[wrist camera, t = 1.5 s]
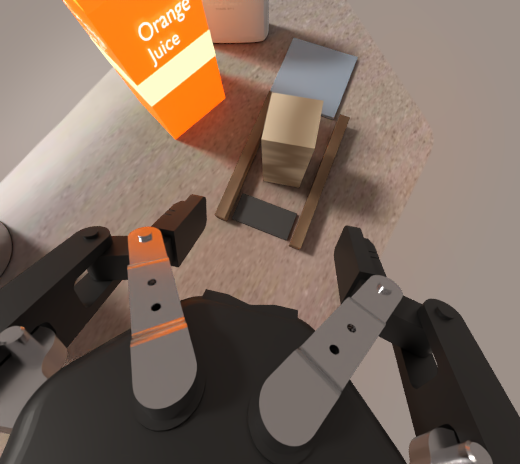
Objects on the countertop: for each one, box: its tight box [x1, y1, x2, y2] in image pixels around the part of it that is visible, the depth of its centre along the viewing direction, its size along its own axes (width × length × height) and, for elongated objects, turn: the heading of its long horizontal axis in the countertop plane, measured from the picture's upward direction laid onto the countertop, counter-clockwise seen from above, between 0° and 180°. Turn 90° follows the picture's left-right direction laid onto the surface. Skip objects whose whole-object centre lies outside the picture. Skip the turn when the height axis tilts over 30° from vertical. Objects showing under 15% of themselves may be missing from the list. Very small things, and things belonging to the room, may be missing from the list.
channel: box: [215, 91, 350, 250], centre depth 27 cm, size 10×17×2 cm, turn 158°
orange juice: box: [63, 0, 225, 140], centre depth 20 cm, size 8×9×20 cm
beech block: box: [261, 92, 324, 188], centre depth 23 cm, size 4×4×9 cm
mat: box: [270, 38, 357, 120], centre depth 29 cm, size 9×10×1 cm
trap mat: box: [232, 193, 297, 240], centre depth 26 cm, size 7×3×1 cm, turn 68°
